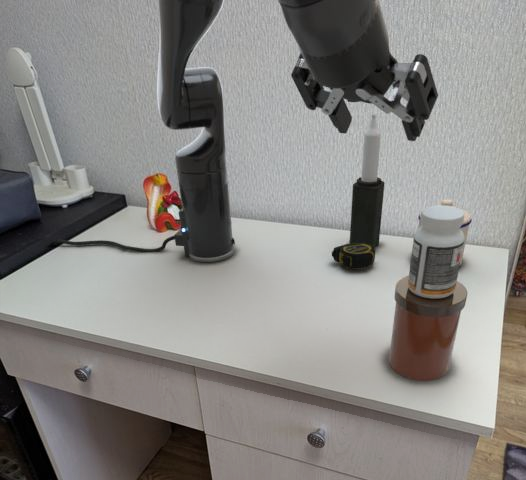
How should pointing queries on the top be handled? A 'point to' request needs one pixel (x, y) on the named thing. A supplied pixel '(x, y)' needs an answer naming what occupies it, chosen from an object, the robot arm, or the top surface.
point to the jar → (424, 332)
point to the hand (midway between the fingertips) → (379, 130)
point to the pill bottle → (436, 252)
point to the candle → (368, 192)
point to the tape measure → (354, 255)
